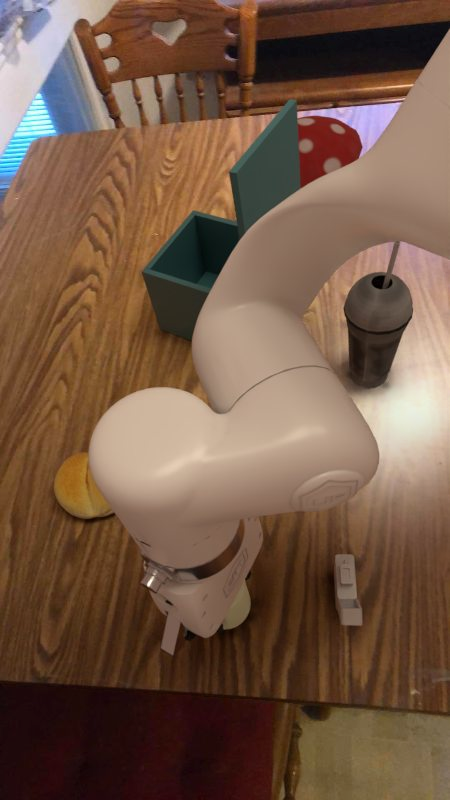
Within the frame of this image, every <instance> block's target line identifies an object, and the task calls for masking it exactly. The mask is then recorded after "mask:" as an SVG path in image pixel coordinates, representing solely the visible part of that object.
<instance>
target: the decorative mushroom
mask: <svg viewBox="0 0 450 800" xmlns="http://www.w3.org/2000/svg"><path fill="white" fill-rule="evenodd" d="M297 119H298V142H299V165H300V188H303V187H304V186H306V185H307V184H309V183H311V182H312V181H314V180H316V179H318V178H320V177H322V176H324V175H326V174H328V173H331V172H333V171H335V170H337V169H340V168H342V167H344V166H346V165H348V164H350V163H352V162H354V161H356V160H357V159H359V158H360V157H361V153H362V151H363V143H362V140H361V136H360V135H359V132H358V131H357V130H356V129H355V128H353V127H352V126H350V125H348V124H347V123H345V122H344V121H341V120H340V119H338V118H335V117H331V116H322V115H306V116H301V117H297Z"/></svg>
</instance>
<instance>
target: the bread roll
mask: <svg viewBox="0 0 450 800" xmlns="http://www.w3.org/2000/svg"><path fill="white" fill-rule="evenodd" d="M53 493H54V495H55V498H56V500H57V502H58V504H59V505H60V506H61V507H62V509H64V510H65V511H66V513H69V515H71V516H73V517H75V518H79V519H81V520H82V519H84V520H90V519H94V518H102V517H107V516H110V515H112V514H115V513H114V511H113V510H112V508H111V507H110V506H109V504H108V503H107V501H106V500H105V499H104V497H103V496H102V494H101V493H100V491H99V489H98V488H97V486H96V484H95V482H94V480H93V478H92V475H91V472H90V467H89V455H88V452H86V451H82V452H76V453H75V454H73V455H71V456H69V457H68V458H67V459H65V460H64V461H63V463H62V464H61V465H60V467H59V468H58V470H57V472H56V474H55V477H54V482H53Z"/></svg>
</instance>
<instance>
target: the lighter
mask: <svg viewBox="0 0 450 800" xmlns="http://www.w3.org/2000/svg"><path fill="white" fill-rule="evenodd" d="M355 563H356V562H355V556H354V555H353V554H352V553H351V554H350V553H349V554H346V553H345V554H343V553H342V554H341V553H340V554H339V553H336V555H335V556H334V564H333V584H334V600H335V601H334V603H335V610H336V611H337V613H338V618H339V621H340V625H341V626H363V607H362V606H361V603H360V601H359V600H358V591H357V590H358V589H357V578H356V576H357V575H356V564H355Z"/></svg>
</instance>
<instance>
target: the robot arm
mask: <svg viewBox="0 0 450 800" xmlns="http://www.w3.org/2000/svg"><path fill="white" fill-rule="evenodd" d="M375 141H376V142H374V144H373V145H372V146H371V147H370V148H369V149H368V150H367V151H365V153H363V155H361V156H360V157H359V159H357V160H356V161H354V162H352V163H350V164H348V165H346V166H344V167H342V168H340V169H337V170H335V171H333V172H331V173H328V174H326V175H324V176H322V177H320V178H318V179H316V180H314V181H312V182H311V183H309V184H307V185H306V186H304V187H303V188H301V189H299V190H298V191H296V192H295V193H294V194H292V195H291V196H289V197H288V198H287V199H285V200H284V201H282V202H281V203H280V204H278V205H277V206H276V207H274V208H273V209H271V210H270V211H269V212H267V213H266V214H265V215H264V216H262V217H261V218H260V219H259V220H258V221H257V222H256V223H255V224H254V225H253V226H251V227H250V228H249V229H248V231H247V232H246V233H245V234H244V236H243V237H242V238H241V239H240V241H239V242H238V244H237V245H236V247H235V248H234V250H233V251H232V253H231V254H230V256H229V258H228V260H227V262H226V263H225V265H224V267H223V269H222V271H221V272H220V274H219V276H218V278H217V280H216V282H215V283H214V285H213V287H212V289H211V291H210V293H209V295H208V297H207V299H206V301H205V303H204V305H203V307H202V309H201V311H200V313H199V316H198V319H197V322H196V325H195V329H194V333H193V337H192V341H191V357H192V363H193V367H194V370H195V373H196V375H197V377H198V380H199V382H200V384H201V388H202V389H203V393H204V395H205V397H206V399H207V402H208V403H209V405H210V406H209V405H208V404H207V403H205V401H204V400H202V399H201V398H199V397H198V396H196V395H194V394H193V393H191V392H189V391H186V390H184V389H181V388H176V387H168V386H167V387H165V386H157V387H149V388H144V389H141V390H137V391H135V392H132V393H129V394H128V395H126V396H124V397H122V398H120V399H119V400H117V402H115V403H114V404H112V405H111V406H110V407H109V408H108V409H107V410H106V411H105V412H104V413H103V414H102V416H101V418H99V420H98V422H97V423H96V425H95V427H94V429H93V431H92V434H91V438H90V440H89V447H88V452H87V453H88V455H89V467H90V472H91V475H92V478H93V480H94V482H95V484H96V486H97V488H98V489H99V491H100V493H101V494H102V496H103V497H104V499H105V500H106V501H107V503H108V504H109V506H110V507H111V508H112V510H113V511H114V513H113V514H115V516H116V517H117V519H118V520H119V521H120V523H121V525H122V526H123V527H124V529H125V530H126V532H128V534H129V535H130V536H131V538H132V539H133V541H134V542H135V544H136V545H137V547H138V548H139V550H140V552H139V555H140V557H141V558H142V559H143V572H144V576H143V577H142V579H141V580H140V582H139V584H140V586H142V587H143V588H145V589H146V590H148V591H149V594H150V596H151V598H152V599H153V602H154V603H155V605H156V607H157V609H158V610H159V611H160V612H161V613H162V614H163V615H164V616H165V617H166V622H165V626H164V630H163V636H162V640H161V644H160V650H161V651H162V652H164V653H166V654H167V655H169V656H171V657H172V658H175V656H177V654H178V653H179V652H180V651H181V650H182V648H184V646H185V645H186V642H189V643H190V642H191V641H192V640H195V638H196V637H197V636H199V637H201V638H203V639H208V638H210V637H212V636H214V635H215V634H216V633H218V634H222V632H223V631H224V630H225V629H224V628H223V624H222V622H223V620H224V618H225V616H226V614H227V613H228V611H229V609H230V607H231V605H232V603H233V601H234V599H235V598H236V596H237V594H238V592H239V590H240V588H241V586H242V584H243V582H244V580H245V581H248V580H250V579H251V577H252V575H253V573H252V567H253V565H254V563H255V561H256V559H257V558H258V554H259V553H260V550H261V548H262V545H263V542H264V533H263V527H262V523H261V521H260V517H267V516H273V515H279V514H280V515H281V514H286V513H287V514H288V513H295V512H304V513H315V512H322V511H327V510H330V509H333V508H335V507H338V506H340V505H342V504H344V503H346V502H348V501H349V500H351V499H352V498H354V497H355V496H356V495H357V494H358V493H359V492H360V491H361V490H363V489H364V488H365V487H366V486H367V485H368V484H369V483H370V482H371V481H372V480H373V478H374V477H375V475H376V474H377V471H378V468H379V466H380V465H379V464H380V449H379V445H378V442H377V439H376V437H375V435H374V433H373V430H372V429H371V427H370V425H369V423H368V422H367V420H366V419H365V417H364V416H363V414H362V413H361V411H360V409H359V408H358V406H357V404H356V403H355V402H354V400H353V399H352V397H351V396H350V394H349V392H348V390H347V389H346V388H345V386H344V385H343V383H342V381H341V379H340V378H339V377H338V375H337V373H336V372H335V370H334V369H333V367H332V366H331V364H330V363H329V361H328V360H327V358H326V357H325V355H324V353H323V351H322V350H321V349H320V346H319V345H318V343H317V342H316V341H315V339H314V337H313V336H312V334H311V332H310V330H309V329H308V327H307V325H305V323H304V322H303V319H304V317H305V314H306V313H307V311H308V309H309V308H310V306H311V305H312V304H313V302H314V301H315V299H316V298H317V296H318V295H319V294H320V291H321V290H322V289H323V287H324V286H325V285H326V283H327V282H328V281H329V280H330V279H331V278H332V276H333V275H334V273H335V272H336V271H338V269H340V268H341V267H342V266H343V265H344V264H345V263H346V262H348V261H349V260H351V259H352V258H354V257H355V256H356V255H358V254H359V253H362V252H364V251H366V250H369V249H370V248H372V247H376V246H379V245H383V244H387V243H395V242H400V243H401V242H403V243H406V244H408V245H411V246H414V247H417V248H418V249H421V250H424V251H426V252H429V253H431V254H434V255H436V256H439V257H442V258H444V259H446V260H449V261H450V28H449V29H448V31H447V32H446V34H445V35H444V37H443V38H442V40H441V42H440V43H439V45H438V46H437V47H436V49H435V51H434V53H433V54H432V56H431V57H430V59H429V60H428V62H427V63H426V65H425V66H424V68H423V70H422V71H421V72H420V74H419V76H418V77H417V78H416V80H415V81H414V83H413V85H412V87H411V88H410V89H409V91H408V93H407V94H406V96H405V97H404V100H403V101H402V103H401V104H400V106H399V107H398V109H397V110H396V112H395V114H394V115H393V117H392V118H391V120H390V122H389V123H388V124H387V125H386V127H385V129H384V130H383V132H382V133H381V134H380V135H379V137H378V139H377V140H375Z"/></svg>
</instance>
